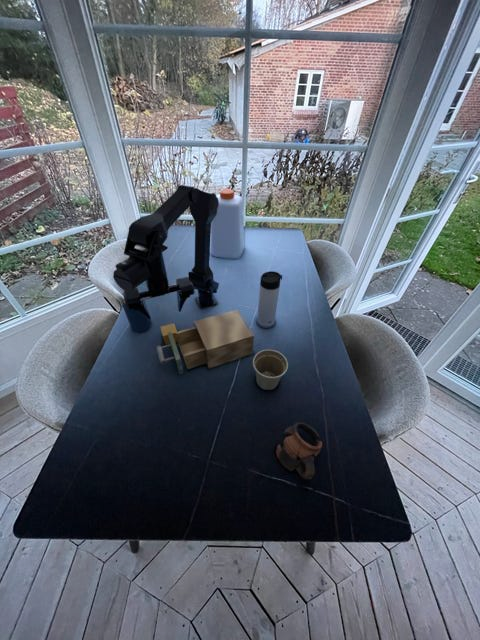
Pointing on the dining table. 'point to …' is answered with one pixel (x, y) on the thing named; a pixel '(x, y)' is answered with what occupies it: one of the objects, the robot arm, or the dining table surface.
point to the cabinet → (225, 337)
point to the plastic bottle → (228, 226)
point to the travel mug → (268, 298)
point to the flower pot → (269, 368)
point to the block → (165, 335)
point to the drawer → (185, 349)
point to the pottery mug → (299, 451)
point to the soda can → (137, 319)
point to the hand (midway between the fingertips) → (165, 314)
